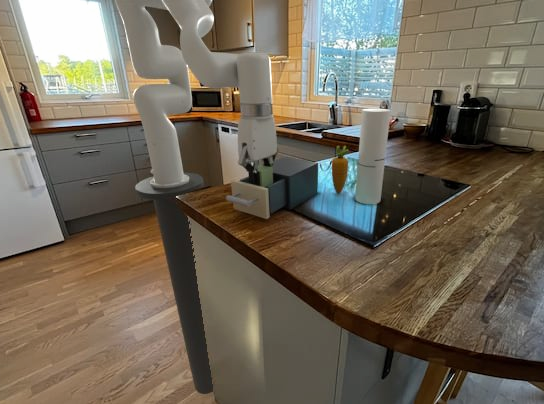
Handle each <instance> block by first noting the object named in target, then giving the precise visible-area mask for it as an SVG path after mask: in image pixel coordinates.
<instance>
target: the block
mask: <svg viewBox="0 0 544 404" xmlns="http://www.w3.org/2000/svg"><path fill="white" fill-rule="evenodd" d="M257 172H259V176H260V187H266V186H268V185H271V184H273V168H272V167H268V166H263V164H258V171H257Z"/></svg>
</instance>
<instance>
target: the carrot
mask: <svg viewBox="0 0 544 404" xmlns="http://www.w3.org/2000/svg"><path fill="white" fill-rule="evenodd" d="M335 149H336V154H337V156H336V157H333V158H332V159H331V178H332V184H333V185H332V186H333V188H334V191H335V193H336V194H337V195H340V194H341V193H342V191H343V190H344V187H345V186H346V182H347V177H348V170H349V159H348V158H347V157H345V155H346V154H347V153H348V152H349V151H350V150H349V149H347V146H346V145H343V147H342V150H341V147H340V145H337V146H336V148H335Z"/></svg>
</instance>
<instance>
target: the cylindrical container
mask: <svg viewBox="0 0 544 404" xmlns="http://www.w3.org/2000/svg"><path fill="white" fill-rule="evenodd" d="M391 111H392V109H388V108H375V107H374V108H371V107H370V108H363V109H361V120H360V133H359V136H360V137H359V143H358V144H359V145H358V158H357V169H356V170H357V172H356V184H355V185H356V186H355V196H354V198H355V201H356V202H358V203H361V204H362V205H363V204H364V205H376V204H379V203H380V202H381V199H382V190H383V182H384V173H385V165H386V156H387V146H388V137H389V129H390V120H391Z"/></svg>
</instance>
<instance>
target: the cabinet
mask: <svg viewBox="0 0 544 404" xmlns="http://www.w3.org/2000/svg"><path fill="white" fill-rule="evenodd" d="M262 165H263V164H262ZM263 166H264V165H263ZM272 168H273V176H278V177H282V178H287V189H288V204H287V205H285V206H283V207H282V208H283V209H285V210H289V211H291V210H292V209H294V208H296V207H297V206H299V205H300V204H302V203H304V202H305V201H308V200H310V198H312V197H314V196H315V195H318V193H319V192H318V191H319V186H318V185H319V162H315V161H309V160H304V159H297V158H292V157H286V156H283V157H280V158H278V159H275V160H274V166H273V167H272ZM282 208H281V209H282Z"/></svg>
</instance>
